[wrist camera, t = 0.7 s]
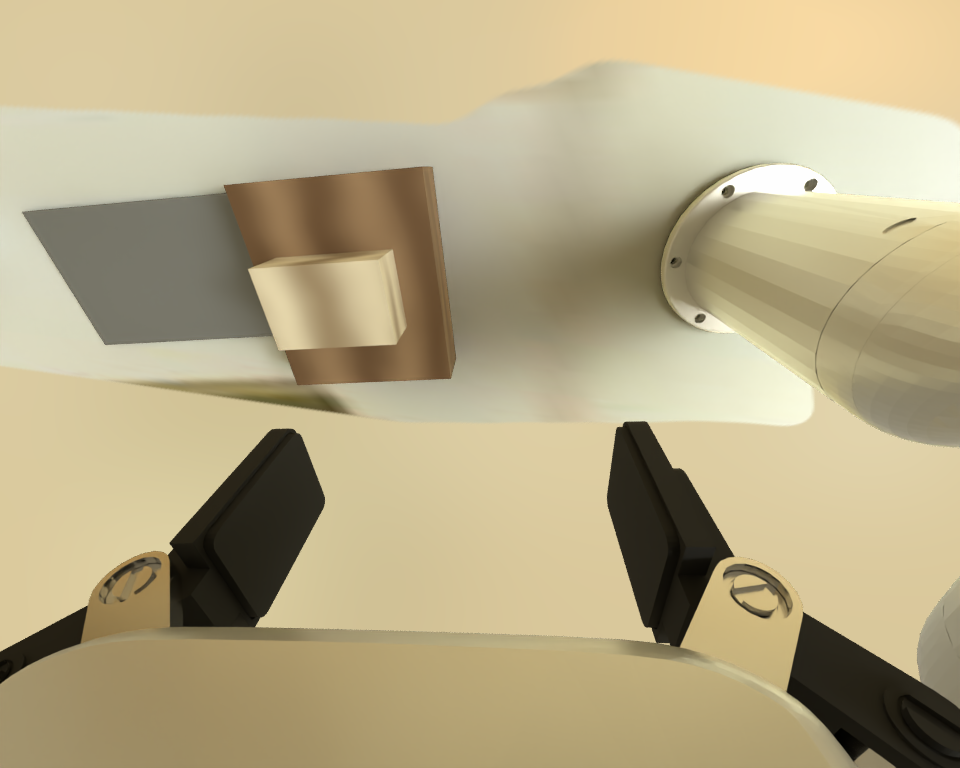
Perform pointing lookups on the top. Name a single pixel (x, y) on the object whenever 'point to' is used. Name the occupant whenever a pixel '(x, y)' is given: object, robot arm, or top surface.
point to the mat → (156, 268)
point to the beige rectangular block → (331, 300)
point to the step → (355, 228)
